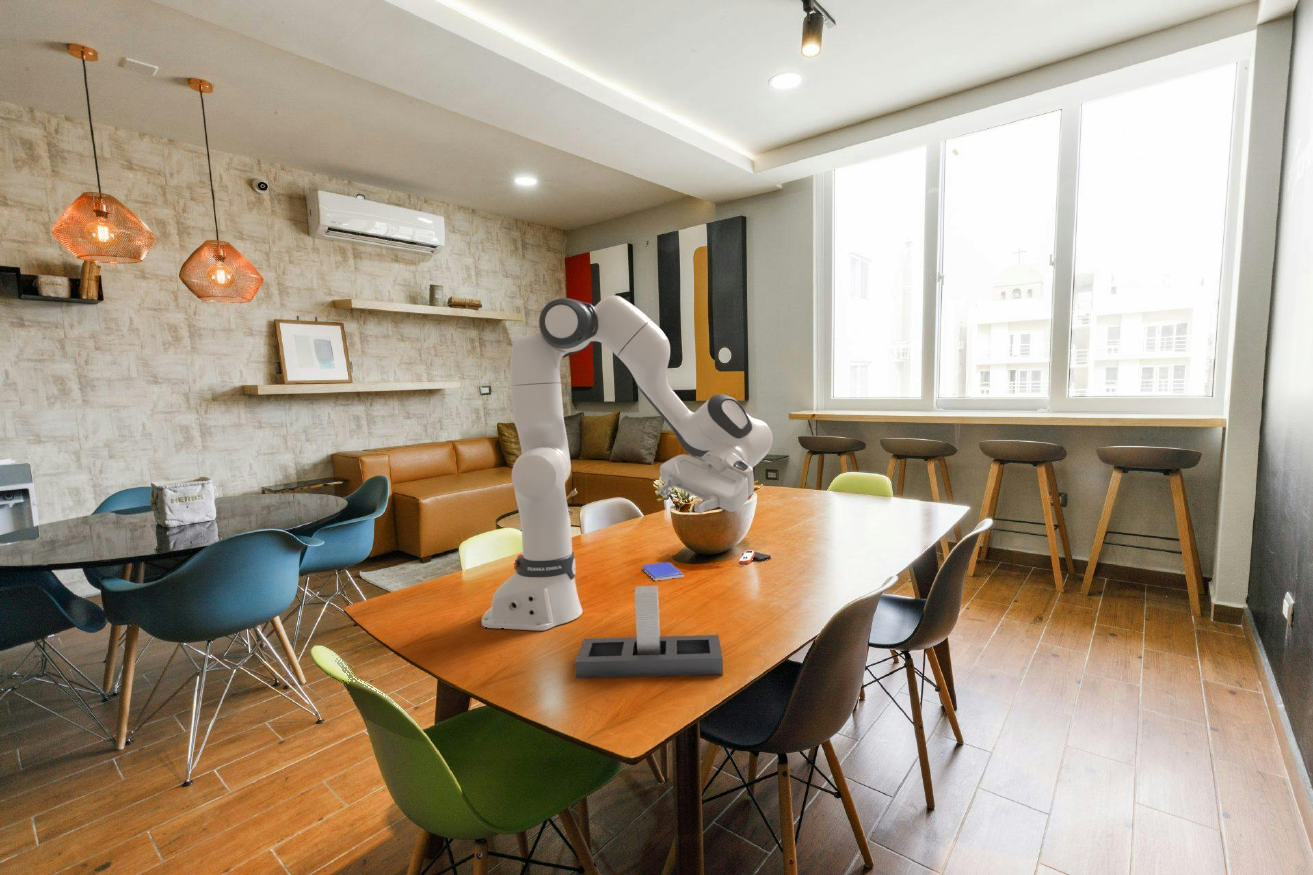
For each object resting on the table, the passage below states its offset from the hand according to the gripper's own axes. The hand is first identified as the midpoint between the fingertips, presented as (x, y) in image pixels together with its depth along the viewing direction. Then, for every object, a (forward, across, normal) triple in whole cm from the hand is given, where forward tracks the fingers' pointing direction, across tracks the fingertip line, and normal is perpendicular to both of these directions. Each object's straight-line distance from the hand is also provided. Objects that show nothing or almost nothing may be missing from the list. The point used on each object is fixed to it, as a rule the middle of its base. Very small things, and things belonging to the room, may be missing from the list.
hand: (678, 501), depth 119 cm
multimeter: (-32, -9, +49) cm, 59 cm away
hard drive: (-12, -22, +45) cm, 52 cm away
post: (+23, +11, +18) cm, 31 cm away
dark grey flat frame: (+23, +11, +18) cm, 31 cm away
